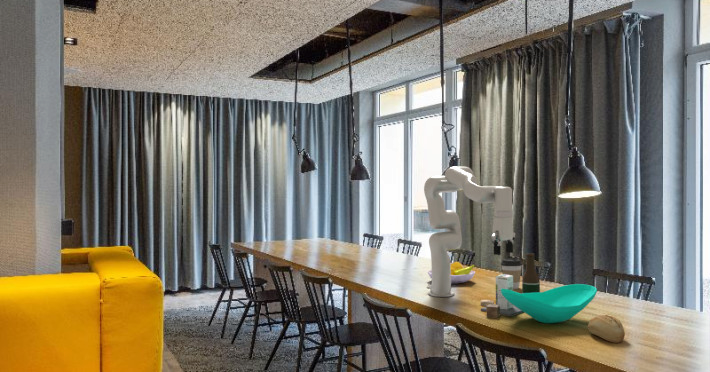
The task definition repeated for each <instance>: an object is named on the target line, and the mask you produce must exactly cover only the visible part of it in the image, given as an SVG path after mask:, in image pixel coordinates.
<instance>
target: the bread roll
mask: <svg viewBox="0 0 710 372" xmlns="http://www.w3.org/2000/svg"><path fill="white" fill-rule="evenodd" d="M622 323H623V322H621V321H620V319H618V318H616V317H614V316H611V315H607V314H605V315H603V314H602V315H599V316H595V317H592V318H591V319H590V320H589V322H588V324H587V330H588V332H589V333H591V335H595V336H597V337H599V338H601V339H604V340H606V341H608V342H610V343H614V344H619V343H621V342H622V341H623V340H624V339H625V336H626V332H625V328H624V325H623V324H622Z"/></svg>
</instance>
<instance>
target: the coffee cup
mask: <svg viewBox="0 0 710 372" xmlns="http://www.w3.org/2000/svg"><path fill="white" fill-rule="evenodd" d="M500 266H501V270H502V274H507V275H512V276H513V290H518V289H519V288H520V283H521V275H522V274H521V273H522V266H523V263H522V261H521V259H520V258H503V259H502V260H501V262H500Z"/></svg>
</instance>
